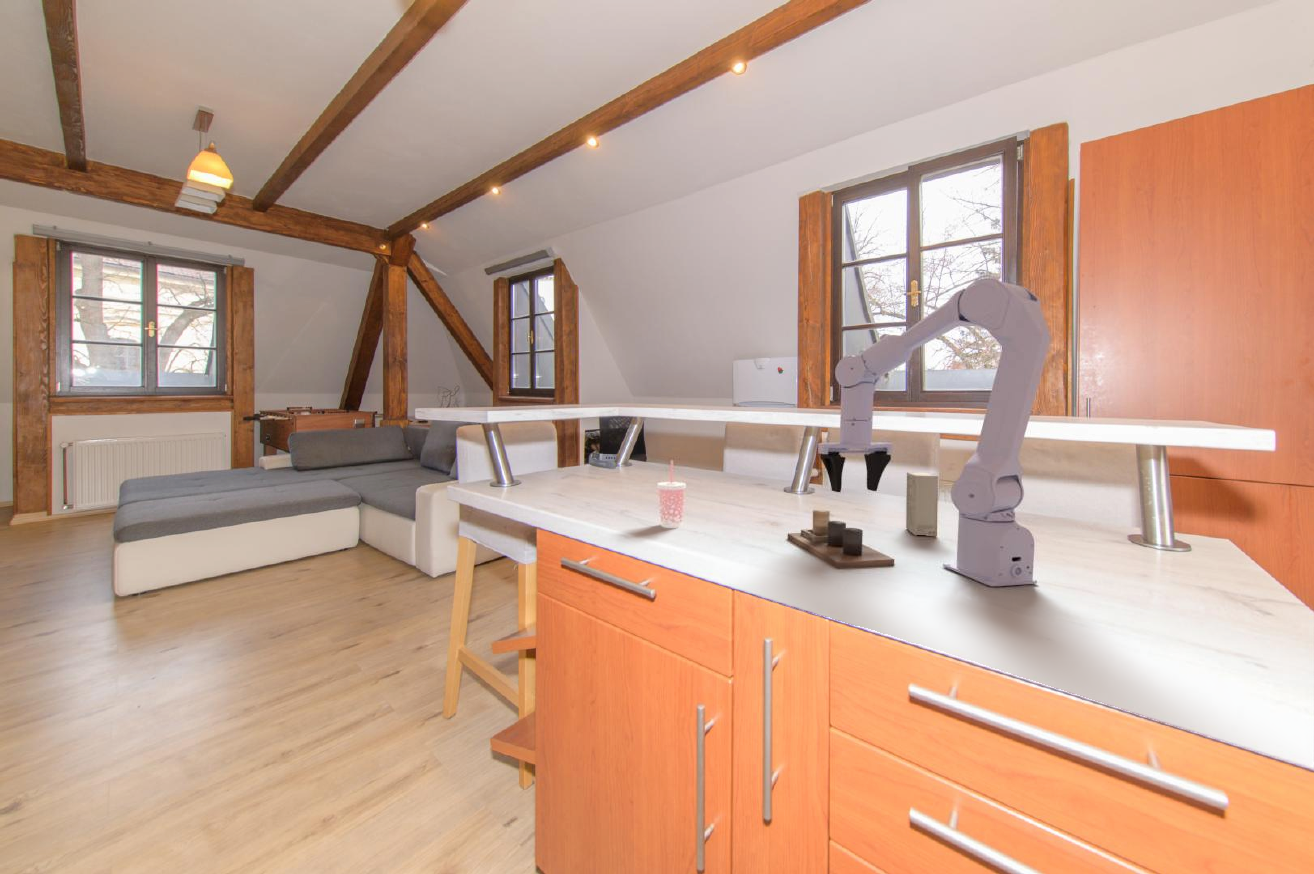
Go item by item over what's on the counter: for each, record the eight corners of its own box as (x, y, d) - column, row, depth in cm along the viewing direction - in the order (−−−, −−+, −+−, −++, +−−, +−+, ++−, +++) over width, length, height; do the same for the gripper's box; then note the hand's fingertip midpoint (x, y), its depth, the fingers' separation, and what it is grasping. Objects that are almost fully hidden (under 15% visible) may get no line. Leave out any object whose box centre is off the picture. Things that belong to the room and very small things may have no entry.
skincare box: (937, 537, 98) (940, 476, 97) (913, 536, 99) (915, 475, 98) (927, 529, 104) (929, 472, 104) (904, 528, 105) (906, 471, 104)
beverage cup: (686, 529, 103) (686, 462, 103) (656, 528, 104) (657, 461, 103) (685, 522, 110) (685, 458, 109) (657, 521, 110) (657, 458, 109)
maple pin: (832, 538, 92) (833, 512, 92) (818, 540, 92) (819, 513, 91) (822, 534, 95) (823, 508, 95) (809, 536, 94) (809, 510, 94)
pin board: (894, 565, 81) (895, 534, 80) (837, 568, 79) (838, 537, 78) (834, 536, 98) (835, 511, 98) (787, 538, 96) (788, 513, 96)
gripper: (877, 419, 100) (875, 486, 101) (810, 419, 98) (809, 488, 99) (900, 420, 94) (898, 492, 94) (830, 420, 91) (828, 494, 92)
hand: (854, 490), depth 96 cm, fingers open, 7 cm apart
